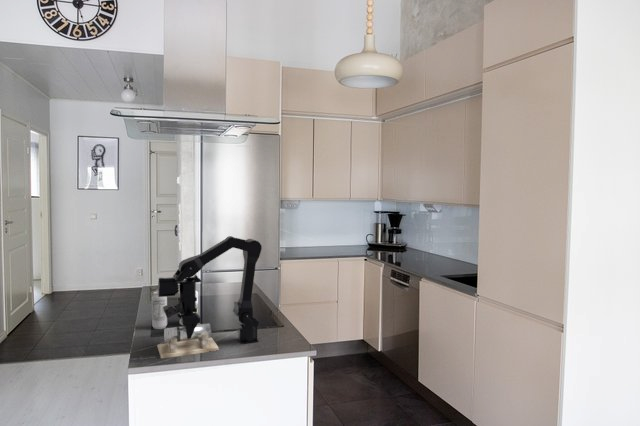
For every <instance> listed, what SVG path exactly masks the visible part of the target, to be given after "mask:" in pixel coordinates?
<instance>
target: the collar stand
mask: <svg viewBox="0 0 640 426" xmlns="http://www.w3.org/2000/svg"><path fill="white" fill-rule="evenodd" d="M157 350H158V352H159V357H160V359H169V358H174V357H175V358H176V357H181V356H182V357H183V356H187V355H189V356H190V355H195V354H203V353H210V352H209V351H211V352H216V350H218V351H219V346H218V345H217V343H216V342H215V340H214V339H213V337H208V333H206V334H202V338H198V339H190V340H183V341H177V338H176V337H174V338H170V342H167V343H165V342H164V343H160V344H157Z"/></svg>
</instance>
